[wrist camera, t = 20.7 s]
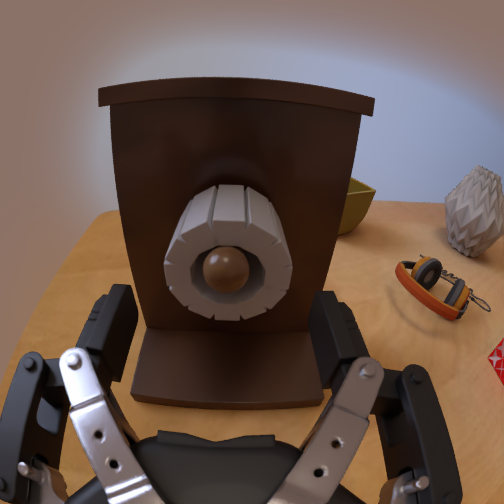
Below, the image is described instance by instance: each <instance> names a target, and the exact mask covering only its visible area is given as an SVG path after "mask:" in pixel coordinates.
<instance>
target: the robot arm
mask: <svg viewBox="0 0 504 504" xmlns="http://www.w3.org/2000/svg"><path fill="white" fill-rule="evenodd" d="M137 323H138V308H137V305H136V301H135V298H134V294H133V290H132V287H131V285H126V284H113V286H112V287H111V290H110V292H109V294H108V295H104V294H103V295H102V296H101V297H100V298H99V299H98V300H97V301H96V302H95V304H94V306H93V309H92V311H91V313H90V315H89V317H88V320H87V321H86V323H85V326H84V328H83V330H82V332H81V335H80V337H79V339H78V342H77V344H76V346H75V348H71V349H68V350H67V351H65V352H64V353H63V355H62V356H61V358H56V359H46V360H44V359H43V357H42V356H41V355H40V354H39V353H37V352H29V353H27V354H25V355H24V356H23V357H22V358H21V360H20V362H19V364H18V366H17V369H16V372H15V374H14V377H13V380H12V383H11V385H10V388H9V391H8V394H7V397H6V401H5V404H4V407H3V411H2V414H1V418H0V499H1V500H3V501H5V502H8V503H11V504H366V503H365V502H363V501H362V500H361V499H359V498H358V497H357V496H355V495H354V494H353V493H351V492H350V491H349V490H348V489H346V488H345V487H344V486H342V485H341V484H340V481H341V480H342V478H343V476H344V474H345V472H346V471H347V469H348V467H349V465H350V463H351V461H352V459H353V458H354V456H355V454H356V452H357V450H358V448H359V446H360V444H361V441H362V439H363V437H364V435H365V433H366V431H367V428H368V426H369V420H368V416H369V414H373V415H375V416H376V421H377V425H378V430H379V435H380V440H381V445H382V450H383V455H384V461H385V466H386V472H387V478H388V481H387V482H386V483H385V484H384V485H383V486H382V488H381V491H380V495H379V497H380V499H379V503H378V504H461V501H462V497H463V493H462V487H461V481H460V476H459V471H458V467H457V463H456V458H455V454H454V450H453V446H452V443H451V439H450V436H449V432H448V429H447V425H446V422H445V419H444V416H443V413H442V410H441V407H440V404H439V401H438V398H437V395H436V392H435V390H434V387H433V384H432V382H431V379H430V376H429V374H428V372H427V371H426V370H425V369H424V368H423V367H421V366H419V365H416V364H411V365H408V366H407V367H405V369H404V370H403V371H397V370H390V369H385V368H383V367H382V366H381V364H380V363H379V362H378V361H376V360H375V359H373V358H371V357H370V355H369V353H368V350H367V348H366V345H365V342H364V340H363V337H362V335H361V332H360V330H359V329H358V325H357V322H356V321H355V317H354V315H353V313H352V310H351V309H350V308H349V307H348V306H347V305H346V304H345V303H344V302H338V300H337V298H336V295H335V293H334V291H316V292H315V294H314V298H313V301H312V305H311V308H310V312H309V315H308V329H309V333H310V337H311V341H312V345H313V349H314V354H315V358H316V362H317V366H318V371H319V375H320V379H321V384H322V388H323V389H331V390H332V394H333V395H332V396H331V398H330V399H329V401H328V403H327V405H326V407H325V408H324V410H323V412H322V413H321V415H320V417H319V418H318V420H317V422H316V423H315V425H314V427H313V428H312V430H311V431H310V433H309V434H308V435H307V437H306V438H305V440H304V441H303V443H302V444H301V446H300V447H299V449H298V448H296V447H294V446H292V445H290V444H288V443H285V442H281V441H276V440H275V435H251V436H242V437H237V438H233V439H228V440H224V441H218V442H214V441H210V440H206V439H203V438H199V437H196V436H193V435H190V434H187V433H178V432H169V431H162V430H158V434H157V436H153V437H149V438H145V439H143V440H139V438H138V436H137V435H136V433H135V432H134V430H133V429H132V428H131V426H130V425H129V423H128V421H127V420H126V418H125V416H124V414H123V412H122V410H121V408H120V406H119V404H118V402H117V400H116V398H115V396H114V394H113V392H112V390H111V388H110V387H111V383H112V381H115V382H121V378H122V375H123V371H124V367H125V363H126V360H127V356H128V353H129V349H130V346H131V342H132V339H133V336H134V333H135V329H136V326H137ZM41 397H42V398H41ZM40 400H41V401H40ZM39 404H40V405H39ZM70 405H71V407H72V409H70V410H69V408H70ZM37 411H38V412H37ZM68 412H69V414H70V418H71V420H72V423H73V426H74V428H75V431H76V433H77V436H78V438H79V440H80V443H81V445H82V447H83V449H84V452H85V454H86V456H87V458H88V460H89V462H90V464H91V466H92V468H93V470H94V472H95V474H96V476H95V477H94V478H93V479H92V480H90V481H89V482H88V483H87V484H85V485H84V486H83V487H82V488H80V489H79V490H78V491H77V492H75V493H74V494H73V495H71V496H70V497H69V496H68V495H67V493H66V489H67V485H66V483H65V481H64V478H63V476H62V474H61V473H60V472H59V464H60V456H61V450H62V443H63V438H64V432H65V427H66V422H67V417H68Z"/></svg>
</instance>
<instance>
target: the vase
mask: <svg viewBox="0 0 504 504" xmlns="http://www.w3.org/2000/svg"><path fill="white" fill-rule="evenodd" d="M445 213H446V217H445V219H446V230H447V232H448V237H447V238H448V242H449V243H450V244H452V247H453V248H456V249H457V250H458V251H459V252H461V253H464V254H465V255H466V256H471V257H473V258H474V256H476V257H477V256H478V255H479V253H480V252H484V251H485V250H487V249H488V248H490V247H491V246H492V245H493V244H494V243H495V242H496V241H497V239H499V238H500V237H501V236H502V235H503V234H504V196H503V193H502V184H501V177H500V176H498V175H497V174H494V173H493V172H491V171H489V170H488V169H485V168H483V167H481V166H479V165H476V167H475V169H473V170H472V171H471V172H470V174H468V175H466V176H465V177H464V179H463V180H462V181H461V182H460V183H459V185H458V186H457V187H456V188H455V189H453V191H452V192H450V193H449V194H448V195H447V196H446V197H445Z"/></svg>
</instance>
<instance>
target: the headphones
mask: <svg viewBox="0 0 504 504" xmlns="http://www.w3.org/2000/svg"><path fill="white" fill-rule="evenodd" d="M420 256H421V257H422V259H420V260H419V261H418V262H417V263H416V262H411V261H402V262H399V264H398V265H397V267H396V270H395V273H396V276H397V278H398V280H399V281H400V282H401V284H402V285H403V286H404V287H405V288H406V289H407V290H408V291H409V292H410V293H411V294H412V295H413V296H414V297H415V298H416V299H418V300H419V301H420V302H421V303H422V304H424V305H425V306H426V307H428V308H429V309H430V310H432V311H434V312H435V313H437V314H438V315H440V316H442V317H444V318H447V319H449V320H454V319H459V318H461V317H462V315H463V314H464V312H465V311H466V309H467V305H468V303H469V301H468V300H467V299H468V297H469V298H471V300H472V301H474V302H475V303H476V304H478V305H479V306H480V307H481V308H483V309H484V310H486V311H488V312H490V311H491V308H490V307H489V305H488V304H487V303H486V302H485V301H484V300H482V299H480V298H477V297H476V296H474V295H473V294H472V292H473V290H472V289H471V288H468V287H467V286H465V281H464V280H462V279H461V278H460V279H459V278H457V277H452V276H454V274H452V273H450V274H444V273H447V271H446V270H442V269H443V267H442V264H441V262H440V261H438V260H437V259H435V258H430V257H423V256H422V255H421V254H420ZM405 268H407V269H413V270H412V272H411V275H410V274H409V273H408V272H407V270H406V269H405ZM441 271H442V274H443V275H445V276H448V275H450V277H451V278H454V279H455V278H457V279H458V280H456V281H455V282H456V283H455V284H454V283H452V282H451V281H449V280H448V279H446V278H444V277H442V276H440V275H441ZM444 271H446V272H444ZM439 277H441V278H443V279H445V280H447V281H448V282H450V283H452V284H453V285H454V286H453V287H452V289H451V290H450V292H449V294H448V295H447V297H446V299H445V301H444V302H442V301H441V300H439V299H438V298H436V297H435V296H433V295H432V294H431V293H429V292H428V291H427V290H429V289H430V288H432V287H433V286H434V285H435V284H436V282H437V281H438V279H439ZM470 290H472V291H471V295H472V296H473V297H475V298H476V299H479V300H481V301H483V302H484V303H485V304H486V305H487V306H488V307H489V309H490V310H487V309H485V308H484V307H482V306H481V305H480V304H479V303H477V302H476V301H475V299H474V298H473V297H471V296H469V294H470ZM461 310H462V311H461Z"/></svg>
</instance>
